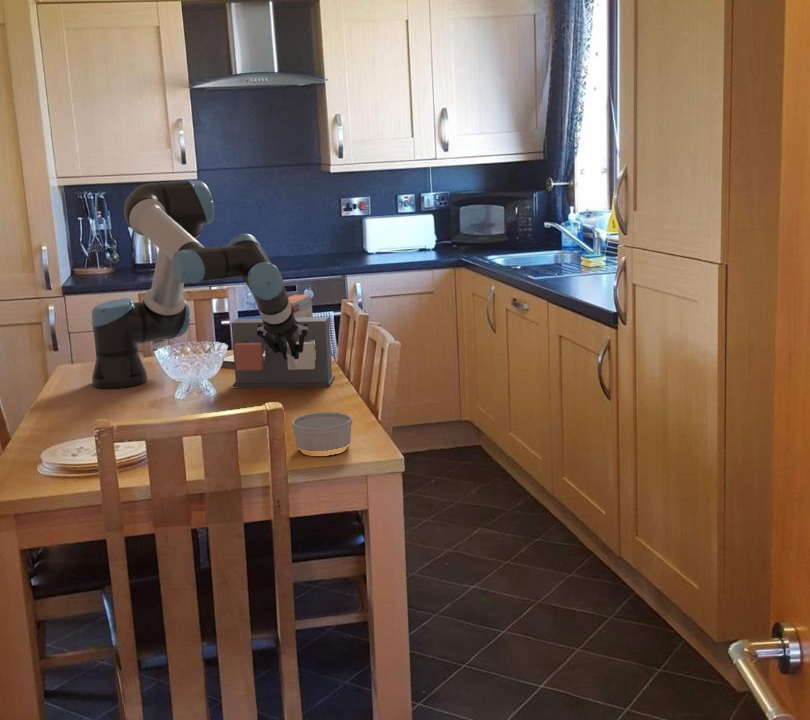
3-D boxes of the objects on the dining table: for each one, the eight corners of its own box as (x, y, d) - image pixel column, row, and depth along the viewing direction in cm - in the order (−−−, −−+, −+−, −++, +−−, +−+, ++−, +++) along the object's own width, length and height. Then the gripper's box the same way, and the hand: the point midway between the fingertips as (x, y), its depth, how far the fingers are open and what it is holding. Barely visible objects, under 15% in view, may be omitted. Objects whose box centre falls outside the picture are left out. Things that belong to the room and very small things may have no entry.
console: (329, 386, 274) (326, 322, 270) (232, 388, 277) (228, 324, 273) (334, 378, 283) (331, 315, 279) (240, 379, 285) (236, 317, 281)
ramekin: (294, 442, 227) (292, 412, 226) (352, 439, 228) (351, 409, 226) (292, 461, 214) (290, 430, 213) (354, 457, 215) (352, 426, 213)
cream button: (313, 369, 267) (312, 343, 266) (288, 369, 268) (286, 343, 266) (320, 360, 277) (319, 335, 276) (295, 360, 278) (294, 335, 276)
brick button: (261, 369, 268) (260, 344, 267) (236, 370, 269) (234, 344, 267) (270, 360, 279) (268, 336, 277) (245, 361, 279) (243, 336, 278)
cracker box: (298, 361, 305) (293, 293, 300) (316, 362, 303) (312, 294, 299) (278, 372, 292) (273, 301, 288) (297, 373, 290) (293, 302, 286)
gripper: (304, 298, 241) (320, 351, 261) (251, 299, 242) (271, 351, 262) (301, 324, 237) (318, 375, 257) (247, 325, 238) (268, 376, 258)
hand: (294, 363), depth 259 cm, fingers closed
